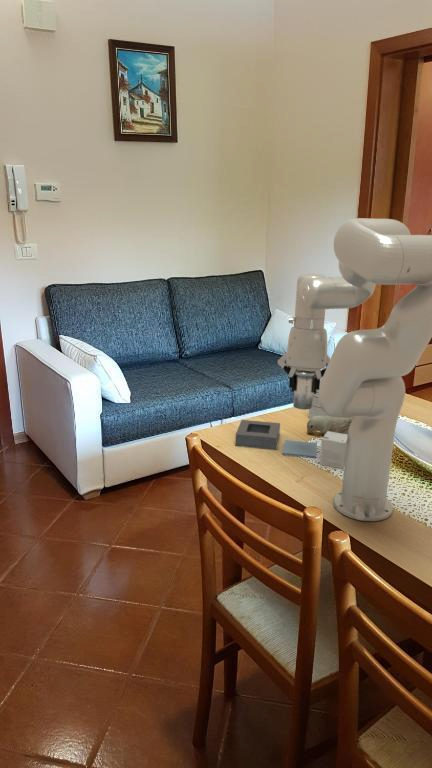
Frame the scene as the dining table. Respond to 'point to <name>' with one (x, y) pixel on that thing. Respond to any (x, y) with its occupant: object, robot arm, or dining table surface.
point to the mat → (300, 449)
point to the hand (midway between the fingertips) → (304, 390)
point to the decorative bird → (329, 424)
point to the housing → (257, 434)
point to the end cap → (304, 388)
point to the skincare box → (333, 449)
